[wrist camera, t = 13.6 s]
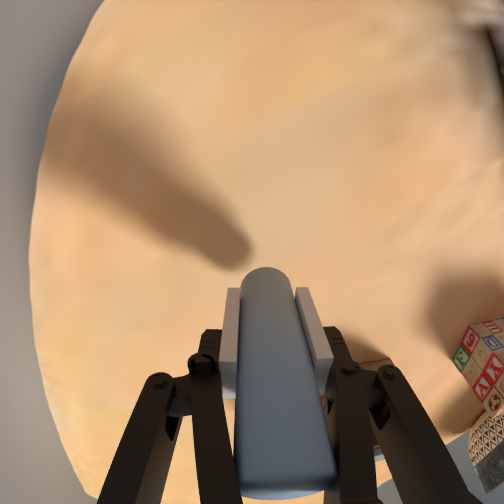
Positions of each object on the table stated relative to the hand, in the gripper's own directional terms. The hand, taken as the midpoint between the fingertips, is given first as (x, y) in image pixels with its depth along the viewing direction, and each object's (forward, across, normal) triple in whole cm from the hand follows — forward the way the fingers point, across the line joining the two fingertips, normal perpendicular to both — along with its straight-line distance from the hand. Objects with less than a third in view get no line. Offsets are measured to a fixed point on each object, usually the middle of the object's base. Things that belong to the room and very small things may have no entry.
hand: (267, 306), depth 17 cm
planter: (+5, +57, -41) cm, 71 cm away
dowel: (+2, 0, 0) cm, 2 cm away
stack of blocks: (+5, +37, -12) cm, 40 cm away
